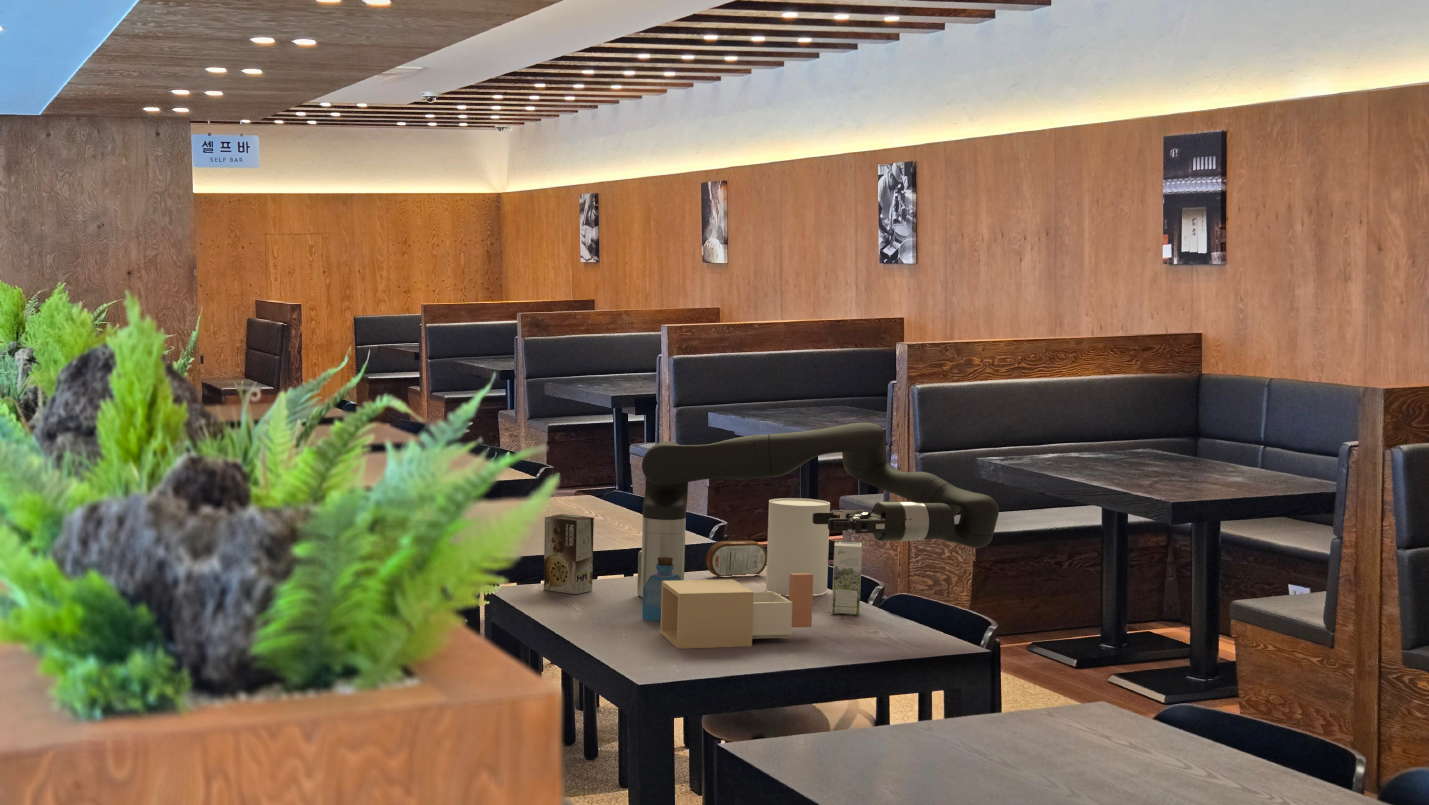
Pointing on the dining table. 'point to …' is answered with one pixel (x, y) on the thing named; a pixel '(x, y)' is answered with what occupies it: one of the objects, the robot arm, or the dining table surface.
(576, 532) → the coffee box
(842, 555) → the syrup box
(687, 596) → the mailer sleeve
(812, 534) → the canister
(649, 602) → the perfume bottle
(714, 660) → the dining table surface
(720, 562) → the tin
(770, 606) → the tray
